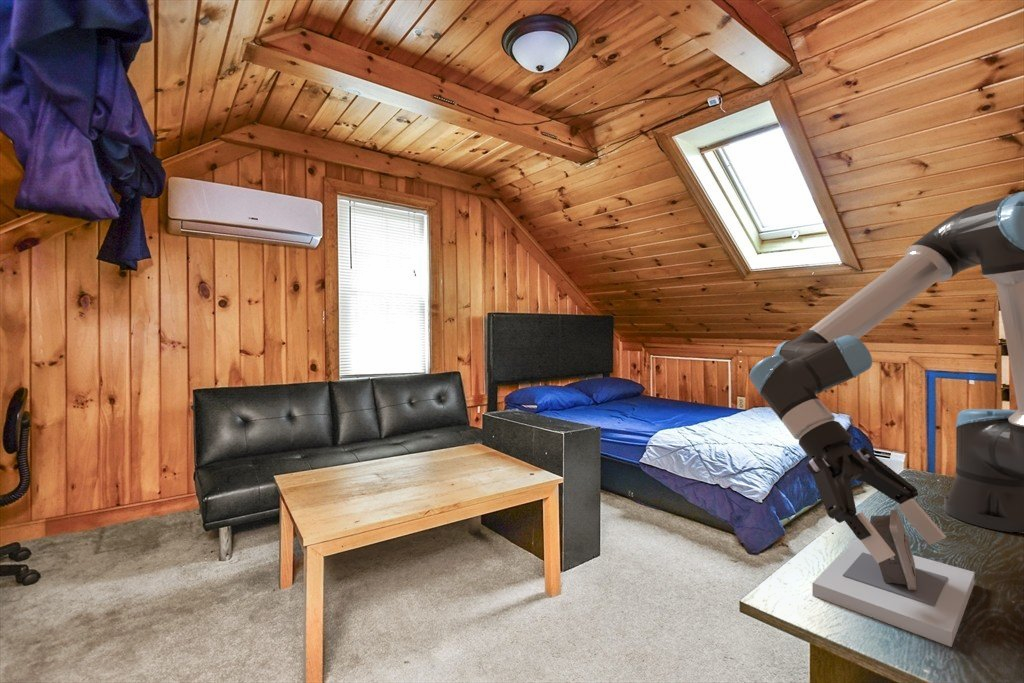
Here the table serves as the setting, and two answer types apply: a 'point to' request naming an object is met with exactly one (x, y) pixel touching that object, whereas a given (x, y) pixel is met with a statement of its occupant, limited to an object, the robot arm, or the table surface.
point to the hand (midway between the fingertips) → (913, 550)
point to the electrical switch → (896, 550)
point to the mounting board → (899, 593)
